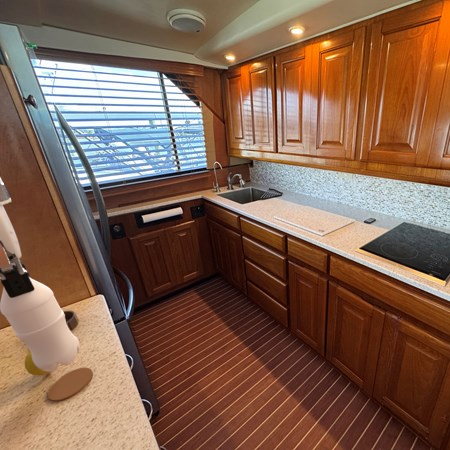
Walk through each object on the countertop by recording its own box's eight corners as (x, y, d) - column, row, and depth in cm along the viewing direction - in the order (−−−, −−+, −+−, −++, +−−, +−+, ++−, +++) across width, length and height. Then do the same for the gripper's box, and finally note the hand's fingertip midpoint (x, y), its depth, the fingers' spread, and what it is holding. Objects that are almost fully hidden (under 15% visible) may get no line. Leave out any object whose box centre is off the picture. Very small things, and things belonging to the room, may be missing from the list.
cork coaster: (38, 403, 52) (37, 402, 52) (66, 370, 59) (66, 369, 59) (76, 399, 53) (76, 397, 52) (100, 367, 60) (99, 365, 60)
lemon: (62, 358, 62) (50, 335, 59) (66, 370, 59) (53, 346, 56) (32, 373, 58) (17, 349, 56) (34, 388, 55) (19, 363, 52)
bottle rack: (29, 341, 68) (25, 333, 67) (55, 319, 76) (52, 311, 75) (63, 338, 69) (59, 330, 67) (85, 316, 77) (82, 309, 76)
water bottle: (75, 368, 52) (20, 270, 42) (32, 381, 49) (-36, 280, 40) (88, 343, 58) (43, 253, 48) (51, 353, 55) (-4, 260, 46)
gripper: (-60, 195, 42) (-10, 282, 48) (-73, 212, 32) (-8, 319, 39) (5, 187, 47) (42, 267, 54) (11, 200, 37) (55, 295, 44)
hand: (21, 288), depth 46 cm, fingers closed on water bottle, 4 cm apart
